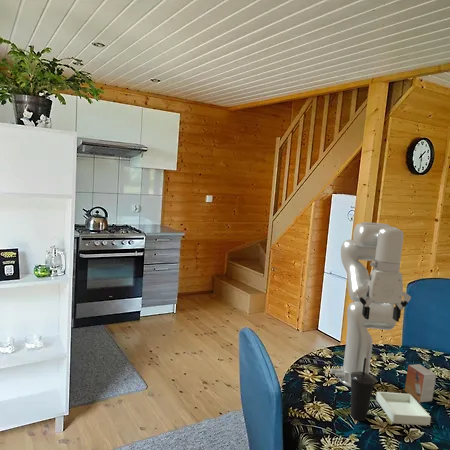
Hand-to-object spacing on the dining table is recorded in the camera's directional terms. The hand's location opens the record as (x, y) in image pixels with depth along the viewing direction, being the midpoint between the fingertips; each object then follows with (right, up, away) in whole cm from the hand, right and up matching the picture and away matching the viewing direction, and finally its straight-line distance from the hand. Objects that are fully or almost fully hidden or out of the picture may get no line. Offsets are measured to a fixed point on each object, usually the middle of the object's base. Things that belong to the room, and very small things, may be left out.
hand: (380, 319), depth 128 cm
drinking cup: (-6, -33, +2) cm, 33 cm away
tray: (+10, -33, +7) cm, 35 cm away
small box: (+21, -33, +19) cm, 44 cm away
